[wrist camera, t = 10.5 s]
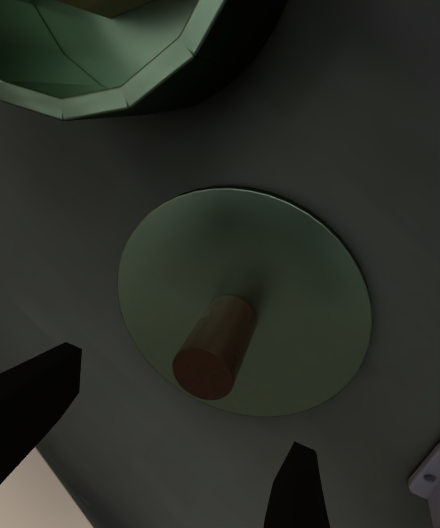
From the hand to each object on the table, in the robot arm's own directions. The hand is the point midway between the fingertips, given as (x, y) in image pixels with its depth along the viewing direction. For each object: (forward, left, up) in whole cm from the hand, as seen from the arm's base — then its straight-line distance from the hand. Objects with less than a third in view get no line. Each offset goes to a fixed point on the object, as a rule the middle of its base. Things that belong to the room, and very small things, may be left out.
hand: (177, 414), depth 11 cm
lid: (0, 0, -7) cm, 7 cm away
